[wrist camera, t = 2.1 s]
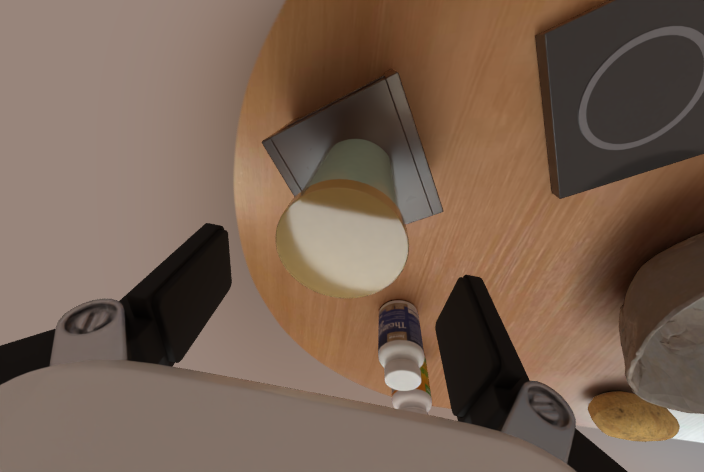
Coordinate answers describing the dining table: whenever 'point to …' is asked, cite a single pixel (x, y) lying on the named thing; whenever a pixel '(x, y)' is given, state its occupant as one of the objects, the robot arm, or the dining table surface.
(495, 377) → the robot arm
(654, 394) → the ceramic bowl
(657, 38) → the hob
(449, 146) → the dining table surface
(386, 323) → the pill bottle
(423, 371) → the supplement bottle
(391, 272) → the jar
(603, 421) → the potato
